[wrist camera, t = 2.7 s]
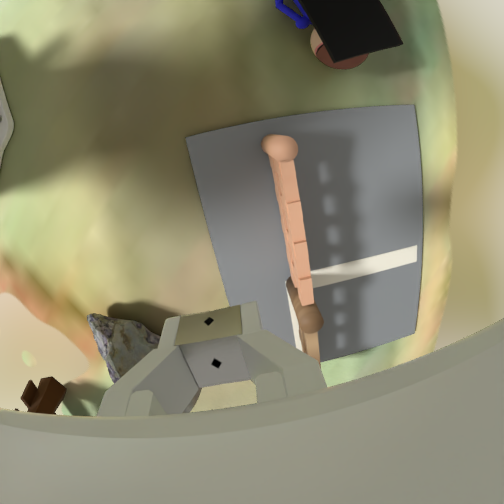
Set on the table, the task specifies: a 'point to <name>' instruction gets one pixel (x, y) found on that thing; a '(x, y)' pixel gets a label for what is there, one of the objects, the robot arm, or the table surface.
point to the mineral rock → (125, 345)
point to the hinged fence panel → (290, 211)
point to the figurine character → (344, 29)
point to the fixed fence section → (306, 322)
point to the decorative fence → (43, 396)
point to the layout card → (321, 221)
